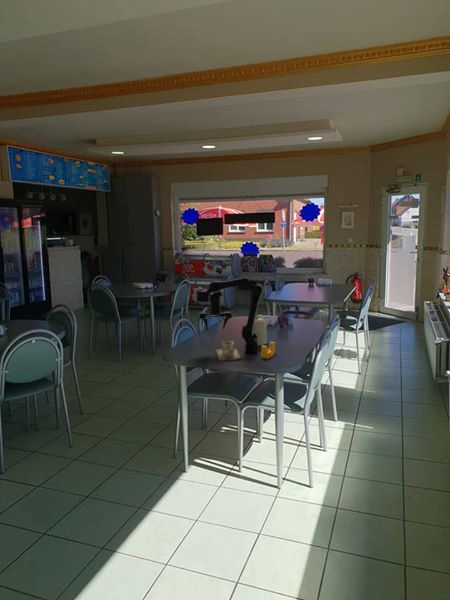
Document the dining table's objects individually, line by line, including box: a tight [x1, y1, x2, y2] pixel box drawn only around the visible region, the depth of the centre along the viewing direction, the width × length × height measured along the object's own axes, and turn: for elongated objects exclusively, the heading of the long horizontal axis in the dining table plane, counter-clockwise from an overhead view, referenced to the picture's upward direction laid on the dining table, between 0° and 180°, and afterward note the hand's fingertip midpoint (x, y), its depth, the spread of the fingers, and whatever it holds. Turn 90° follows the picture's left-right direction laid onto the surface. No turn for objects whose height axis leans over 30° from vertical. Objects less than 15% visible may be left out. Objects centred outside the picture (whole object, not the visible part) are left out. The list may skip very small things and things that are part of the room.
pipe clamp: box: [260, 341, 276, 360], centre depth 260 cm, size 12×4×6 cm, turn 148°
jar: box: [245, 314, 268, 347], centre depth 285 cm, size 13×13×18 cm
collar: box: [221, 340, 235, 355], centre depth 260 cm, size 6×6×6 cm
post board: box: [215, 348, 242, 361], centre depth 260 cm, size 12×18×6 cm, turn 6°
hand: (215, 329), depth 271 cm, fingers open, 9 cm apart
